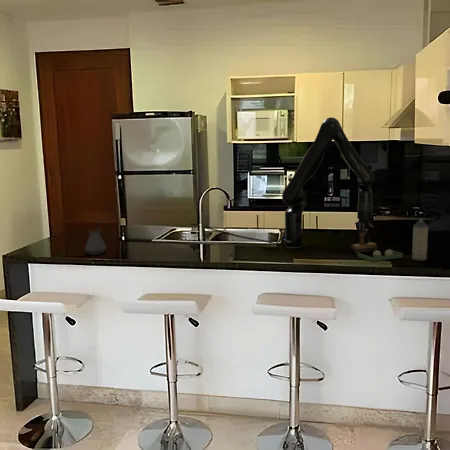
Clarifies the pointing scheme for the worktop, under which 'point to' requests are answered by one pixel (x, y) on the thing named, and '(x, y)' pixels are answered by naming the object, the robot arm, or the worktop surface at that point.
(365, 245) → the brown t-shaped block
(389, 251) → the paper ball
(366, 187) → the robot arm
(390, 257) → the corral
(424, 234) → the aerosol can
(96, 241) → the coffee pot
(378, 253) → the paper ball
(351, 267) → the worktop surface
